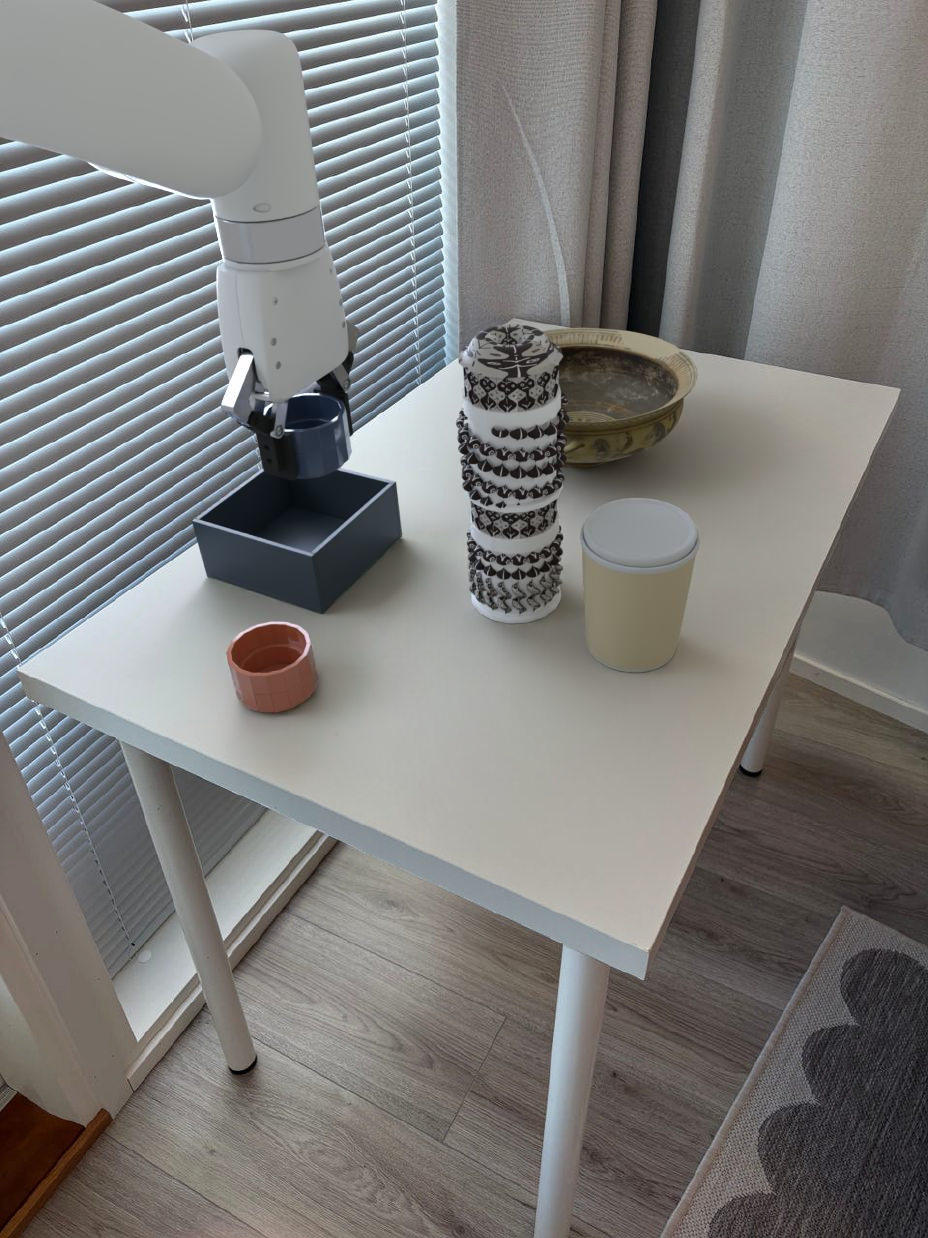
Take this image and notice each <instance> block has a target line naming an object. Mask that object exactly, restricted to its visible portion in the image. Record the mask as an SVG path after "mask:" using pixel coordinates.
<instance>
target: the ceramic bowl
mask: <svg viewBox="0 0 928 1238" xmlns="http://www.w3.org/2000/svg"><path fill="white" fill-rule="evenodd" d="M541 331H542V332H543V333H545V334H546V335H547V336H548V338H549V339H550V341H552V342H553V343H554V344H556V345H557V346H559V347H560V348H561V351H562V354H563V358H562V359H561V360H560V362H559V386H560V390H561V392H563V394H565V395H566V397H565V398H564V399H566V400H568V404H567V405H565V406H563V407H562V405H561V407H562V408H564V409H565V410H566V411H567V415H568V416H569V422H568V423H566V427H565V428H564V429H563V430H562V431H563V432H564V435H565V436H566V438H567V443H566V444H565V448H564V451H565V453H564V454H565V455H566V457H567V460H566V462H564V463H563V466H565V467H566V466H567V467H571V468H590V467H591V468H592V467H596V466H599V465H602V464H605V463H607V462H611V461H616V460H620V459H624V458H629V457H632V456H635V455H637V454H639V453H642V452H645V451H647V450H649V449H650V448H653V447H655V446H656V445H657V444H659V443H660V442H661V441H663V440H664V439H665V438H666V437H668V436H669V434H671V433H672V432H673V430H674V429H675V427H676V426H677V425H678V423H679V421H680V418H681V415H682V413H683V411H684V410H683V409H684V399H685V398H686V397H687V396H688V395H689V394H690V393H691V392H692V390H693V389H694V388H695V386H696V382H697V380H698V369H697V366H696V364H695V362H694V361H693V360H692V358H691V357H690V356H689V355H688V354H687V353H686V352H684V351H683V350H682V349H681V348H679V347H678V346H676V345H675V344H673V343H671V342H669V341H666V340H664V339H662V338H659V337H656V336H653V335H648V334H645V333H640V332H636V331H630V330H622V329H613V328H612V329H611V328H601V327H600V328H599V327H598V328H597V327H567V328H566V327H565V328H554V329H548V330H547V329H546V330H541ZM557 421H558V416H557Z"/></svg>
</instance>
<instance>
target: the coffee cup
mask: <svg viewBox="0 0 928 1238" xmlns="http://www.w3.org/2000/svg"><path fill="white" fill-rule="evenodd" d="M579 542H580V546H581V564H582V565H581V567H582V587H583V603H584V605H583V606H584V607H583V608H584V625H585V626H584V627H585V638H586V645H587V646H586V647H587V649H588V652H589V653H590V654H591V655H592V657H593V658H594V659H595V660H596V661H597V662H598V663H600V664H601V665H603V666H604V667H607V668H609V669H612V670H614V671H615V670H616V671H619V672H625V673H646V672H650V671H654V670H657V669H659V668H662V667H663V666H665V665H666V664H667V663H669V662H670V661H671V659H672V658H673V656H674V655H675V654H676V651H677V647H678V644H679V640H680V635H681V629H682V626H683V621H684V616H685V612H686V606H687V601H688V597H689V591H690V587H691V582H692V577H693V573H694V572H693V571H694V569H695V562H696V556H697V553H698V551H699V548H700V543H701V535H700V531H699V529H698V527H697V524H696V522H695V519H693V518H692V517H691V516H690V514H689V513H688V512H686V511H685V510H683V508H681V507H678V506H676V505H674V504H672V503H669V502H666V501H662V500H659V499H653V498H646V497H628V498H627V497H626V498H621V499H616V500H612V501H609V502H606V503H604V504H601V505H600V506H598V507H596V508H595V509H593V510H592V511H591V512H590V513H589V515H587V517H586V519H585V520H584V523H582V525H581V528H580V531H579Z"/></svg>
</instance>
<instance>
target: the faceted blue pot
mask: <svg viewBox="0 0 928 1238" xmlns="http://www.w3.org/2000/svg"><path fill="white" fill-rule="evenodd" d="M272 404H273V403H270V404H268V405H267V406H265V408H264V415H265V416H267V417H268V418H270V419H271V412H272ZM284 432H287V433H290V434H291V436H292V441H293V446H294V452H295V457H296V462H297V468H298V477H297V478H299V479H308V478H316V477H321V476H325V475H328V474H330V473H332V472H334V471H336V470H338V469H339V468H342V467H343V466H344V464H345V463H346V462H348V461H349V460H350V457H351V455H352V452H353V451H352V450H353V449H352V443H351V437H350V435H349V428H348V421H347V414H346V408H345V406H344V403H343V402H342V401H341V400H339V399H338V398H336V397H334V396H331V395H326V394H320V393H314V392H311V393H309V392H307V393H305V392H304V393H298V394H296V395H295V396H293V397H291V398H290V399H288V407H287V415H286V423H285V431H284Z"/></svg>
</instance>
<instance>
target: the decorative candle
mask: <svg viewBox="0 0 928 1238" xmlns="http://www.w3.org/2000/svg"><path fill="white" fill-rule="evenodd" d="M542 331H543V330H541V329H539V328H537V327H534V326H531V325H528V324H518V323H508V324H499V325H494V326H490V327H487V328H485V329H483V330H481V331H479V332H478V333H476V335H475V336H474V337H473V338H472V339H471V341H470V343H469V344H467V345H465V346H464V348H463V349H462V350H460V352H459V353H458V364H459V365H460V366H461V367H462V369H463V371H462V372H463V389H462V403H463V404H462V405H463V406H462V408H460V409H459V412H458V416H459V417H458V418H457V419H456V421H455V425H456V427H457V429H458V430H457V436H456V437H457V438H456V439H457V442H458V444H459V445H458V448H457V451H458V452H459V453H460V454H461V455H462V456H461V457H460V461H459V462H460V465H461V466H462V468H461V479H462V480H463V483H462V489H463V490H464V494H465V496H466V497H467V498H468V499H469V500H470V511H469V528H470V529H468V530H467V531H466V537H467V541H466V546H467V552H468V553H469V554H468V555H467V560H468V562H467V567H468V581H469V587H468V588H469V591H470V597H471V604H472V606H473V607H474V608H475V610H476V611H477V612H478V614H481V615H482V616H484V617H486V618H488V619H490V620H492V621H494V622H499V623H505V624H527V623H528V624H529V623H531V622H534V621H538V620H540V619H544V618H546V617H547V616H548V615H550V613H552V612H553V611H555V610H556V609H557V608H558V606H559V604H560V601H561V600H562V592H561V585H563V583H564V582H563V579H561V578H560V577H561V574H562V572H563V570H564V567H563V565H561V564H560V562H561V561H562V557H561V556H563V554H564V550H563V548H562V547H561V545H562V541H563V540H564V535H563V533H562V526H561V525H560V514H559V508H558V499H559V496H560V495H561V493H562V491H563V489H564V482H565V475H564V474H563V470H562V468H563V467H564V465H563V463H564V462H566V460H567V457H566V455H565V454H564V453H565V451H564V448H565V444H566V443H567V438H566V436H565V435H564V432H563V431H562V430H563V429H564V428H565V427H566V423H568V422H569V416H568V415H567V411H566V410H565V409H564V408H562V407H563V406H565V405H567V404H568V400H566V399H564V398H565V397H566V395H565V394H563V392H561V390H560V386H559V362H560V360H561V359H562V358H563V354H562V351H561V348H560V347H559V346H557V345H556V344H554V343H553V342H552V341H550V339H549V338H548V336H547V335H546V334H545V333H543V332H542ZM561 405H562V407H561ZM557 416H558V421H557ZM465 421H467V422H465Z"/></svg>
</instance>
